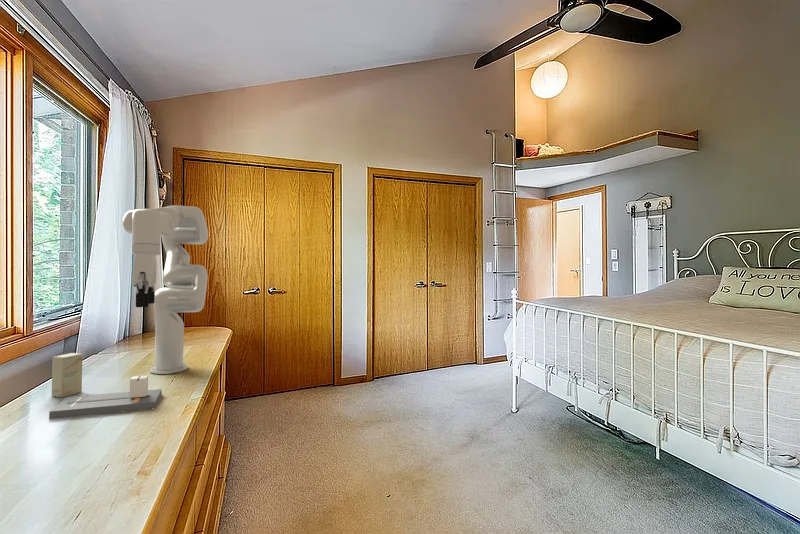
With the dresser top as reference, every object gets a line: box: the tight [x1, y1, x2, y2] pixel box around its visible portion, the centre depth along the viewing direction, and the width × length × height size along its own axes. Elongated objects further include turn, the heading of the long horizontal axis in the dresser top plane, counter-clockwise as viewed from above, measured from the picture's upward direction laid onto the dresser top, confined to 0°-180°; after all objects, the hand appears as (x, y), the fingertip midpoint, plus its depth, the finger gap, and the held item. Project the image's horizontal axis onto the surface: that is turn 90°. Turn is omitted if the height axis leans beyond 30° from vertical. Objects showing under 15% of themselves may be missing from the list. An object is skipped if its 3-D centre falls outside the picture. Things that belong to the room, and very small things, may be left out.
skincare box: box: [51, 352, 83, 398], centre depth 125 cm, size 6×4×12 cm
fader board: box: [48, 388, 163, 420], centre depth 116 cm, size 12×24×2 cm, turn 112°
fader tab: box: [129, 374, 149, 398], centre depth 119 cm, size 3×4×5 cm
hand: (145, 305), depth 125 cm, fingers open, 9 cm apart
